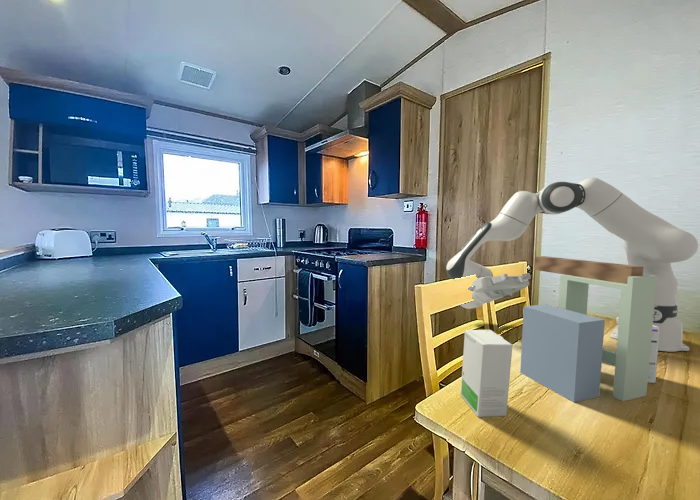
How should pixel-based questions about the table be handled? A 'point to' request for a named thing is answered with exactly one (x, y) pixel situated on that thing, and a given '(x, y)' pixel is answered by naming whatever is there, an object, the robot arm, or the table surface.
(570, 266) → the walnut batten
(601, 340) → the slate-blue block
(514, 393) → the table surface
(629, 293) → the sage shelf
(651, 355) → the syrup box
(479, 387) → the skincare box
